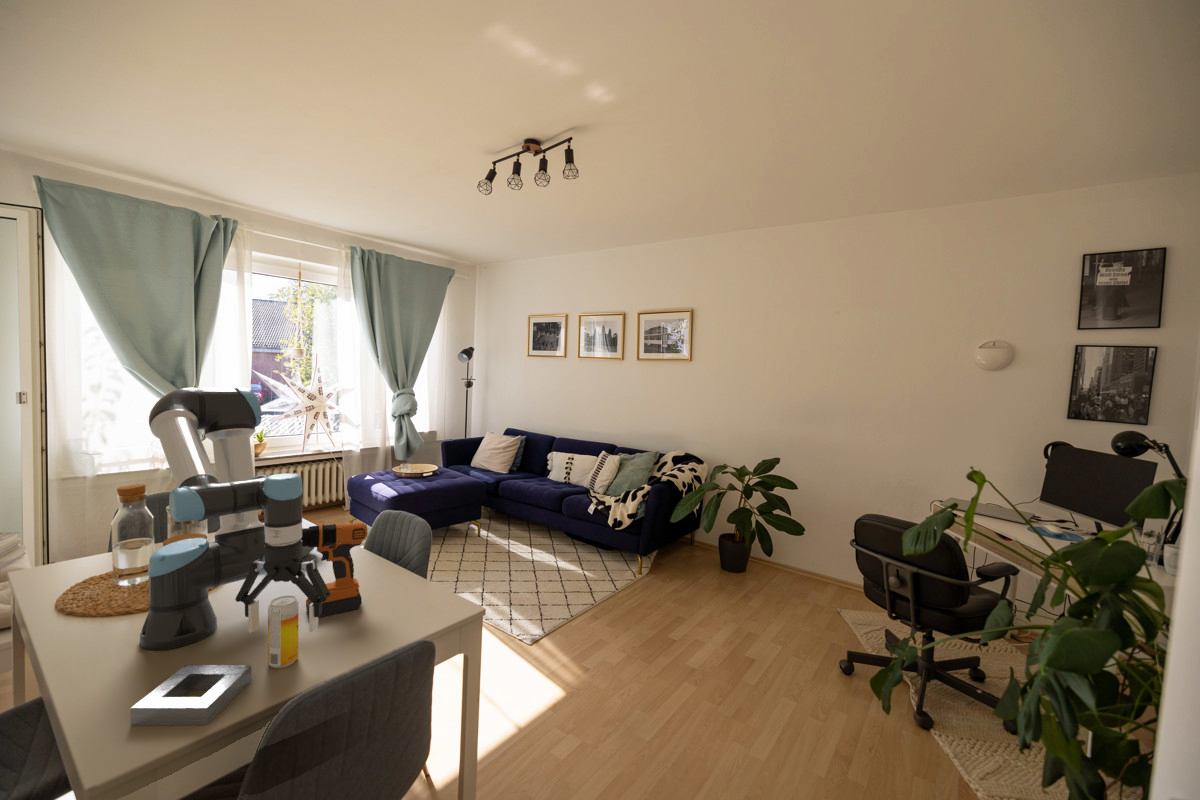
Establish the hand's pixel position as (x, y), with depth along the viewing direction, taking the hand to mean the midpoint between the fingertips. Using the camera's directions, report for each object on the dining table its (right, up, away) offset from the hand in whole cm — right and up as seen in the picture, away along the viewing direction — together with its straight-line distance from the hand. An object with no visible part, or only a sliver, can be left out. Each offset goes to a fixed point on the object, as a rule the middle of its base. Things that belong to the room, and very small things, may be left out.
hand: (283, 629), depth 119 cm
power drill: (-4, -6, +26) cm, 27 cm away
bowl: (-37, -3, +61) cm, 71 cm away
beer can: (-1, -8, +1) cm, 8 cm away
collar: (-10, -9, -14) cm, 19 cm away
